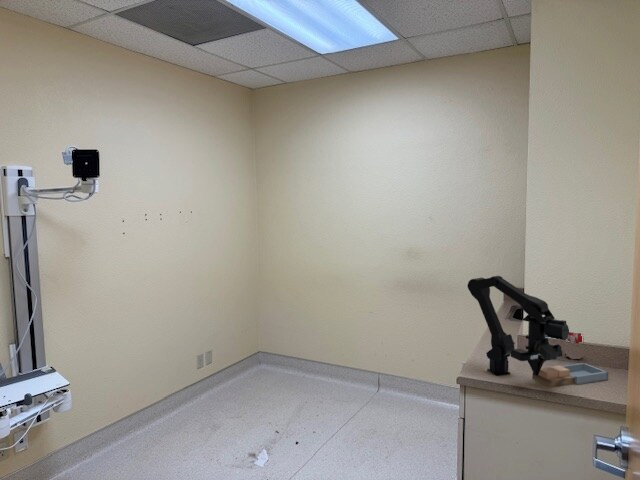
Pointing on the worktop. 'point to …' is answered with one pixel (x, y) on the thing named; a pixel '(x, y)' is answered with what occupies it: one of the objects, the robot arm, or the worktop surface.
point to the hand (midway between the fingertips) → (536, 375)
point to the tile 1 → (548, 373)
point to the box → (586, 373)
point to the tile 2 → (561, 371)
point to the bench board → (555, 380)
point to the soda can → (574, 337)
